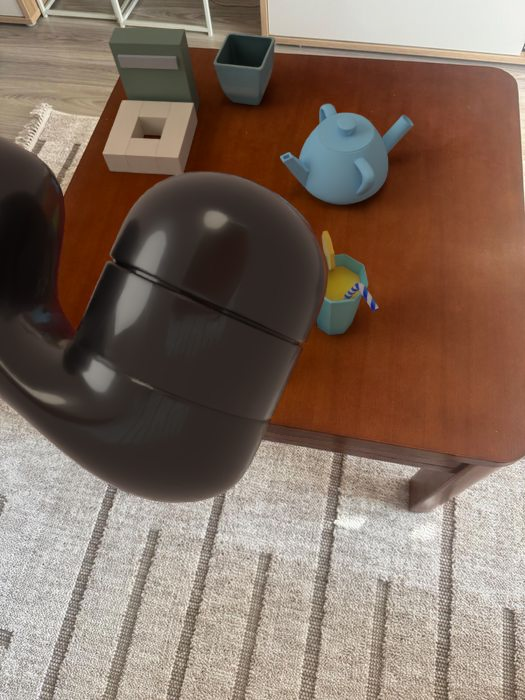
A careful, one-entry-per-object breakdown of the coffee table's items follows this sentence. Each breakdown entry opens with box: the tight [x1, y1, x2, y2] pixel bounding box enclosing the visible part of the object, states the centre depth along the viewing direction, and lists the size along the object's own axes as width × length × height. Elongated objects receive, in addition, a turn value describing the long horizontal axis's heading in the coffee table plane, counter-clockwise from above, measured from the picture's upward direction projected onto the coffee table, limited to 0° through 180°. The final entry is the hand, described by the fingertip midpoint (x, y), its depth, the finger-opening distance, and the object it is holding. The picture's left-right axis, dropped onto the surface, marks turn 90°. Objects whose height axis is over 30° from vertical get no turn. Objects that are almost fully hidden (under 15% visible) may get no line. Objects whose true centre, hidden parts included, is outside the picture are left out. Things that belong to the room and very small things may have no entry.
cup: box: [316, 230, 379, 336], centre depth 69 cm, size 14×8×15 cm, turn 28°
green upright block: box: [108, 27, 200, 115], centre depth 92 cm, size 12×4×14 cm, turn 82°
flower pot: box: [213, 32, 276, 106], centre depth 94 cm, size 9×9×9 cm
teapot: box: [279, 103, 414, 206], centre depth 83 cm, size 15×17×11 cm
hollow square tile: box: [102, 99, 199, 176], centre depth 92 cm, size 13×13×4 cm
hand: (229, 322), depth 50 cm, fingers open, 8 cm apart
